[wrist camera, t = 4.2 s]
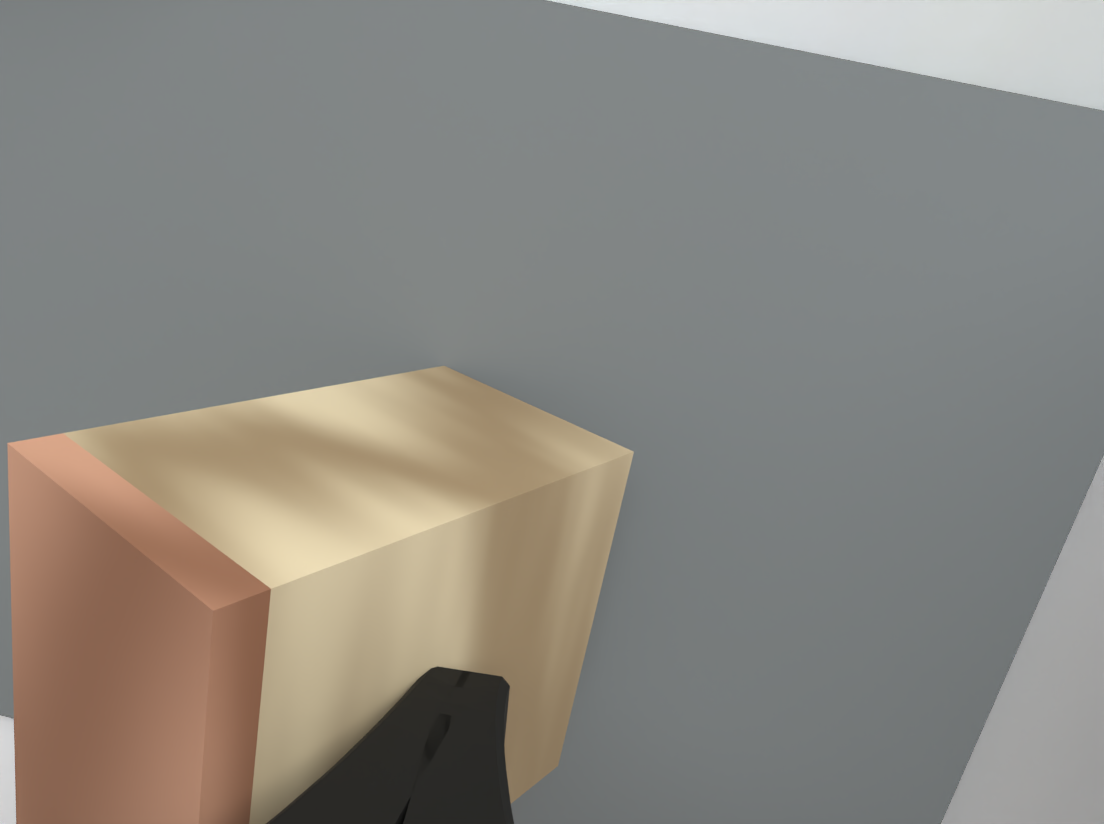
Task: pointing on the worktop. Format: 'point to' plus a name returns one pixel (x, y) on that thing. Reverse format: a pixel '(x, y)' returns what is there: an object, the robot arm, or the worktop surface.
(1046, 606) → the worktop surface
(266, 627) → the maple block
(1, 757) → the worktop surface
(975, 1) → the worktop surface
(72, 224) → the slate mat
